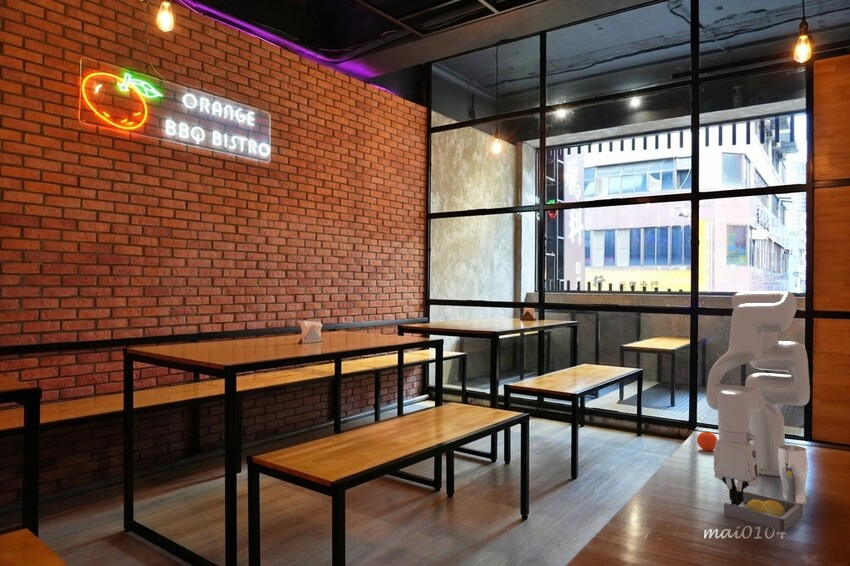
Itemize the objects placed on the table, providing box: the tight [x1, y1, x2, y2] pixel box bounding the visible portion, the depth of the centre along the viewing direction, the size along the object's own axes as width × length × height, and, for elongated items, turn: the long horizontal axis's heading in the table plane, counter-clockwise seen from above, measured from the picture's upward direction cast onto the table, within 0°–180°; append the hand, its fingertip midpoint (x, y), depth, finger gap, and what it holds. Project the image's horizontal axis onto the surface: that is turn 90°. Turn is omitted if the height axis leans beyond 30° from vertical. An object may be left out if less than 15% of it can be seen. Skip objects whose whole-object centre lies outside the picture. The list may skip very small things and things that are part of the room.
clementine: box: [696, 430, 718, 452], centre depth 204 cm, size 8×7×7 cm
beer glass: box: [778, 444, 809, 507], centre depth 154 cm, size 7×7×15 cm
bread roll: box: [745, 499, 785, 517], centre depth 145 cm, size 8×9×4 cm
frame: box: [723, 489, 804, 532], centre depth 145 cm, size 14×14×3 cm
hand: (736, 503), depth 150 cm, fingers closed
